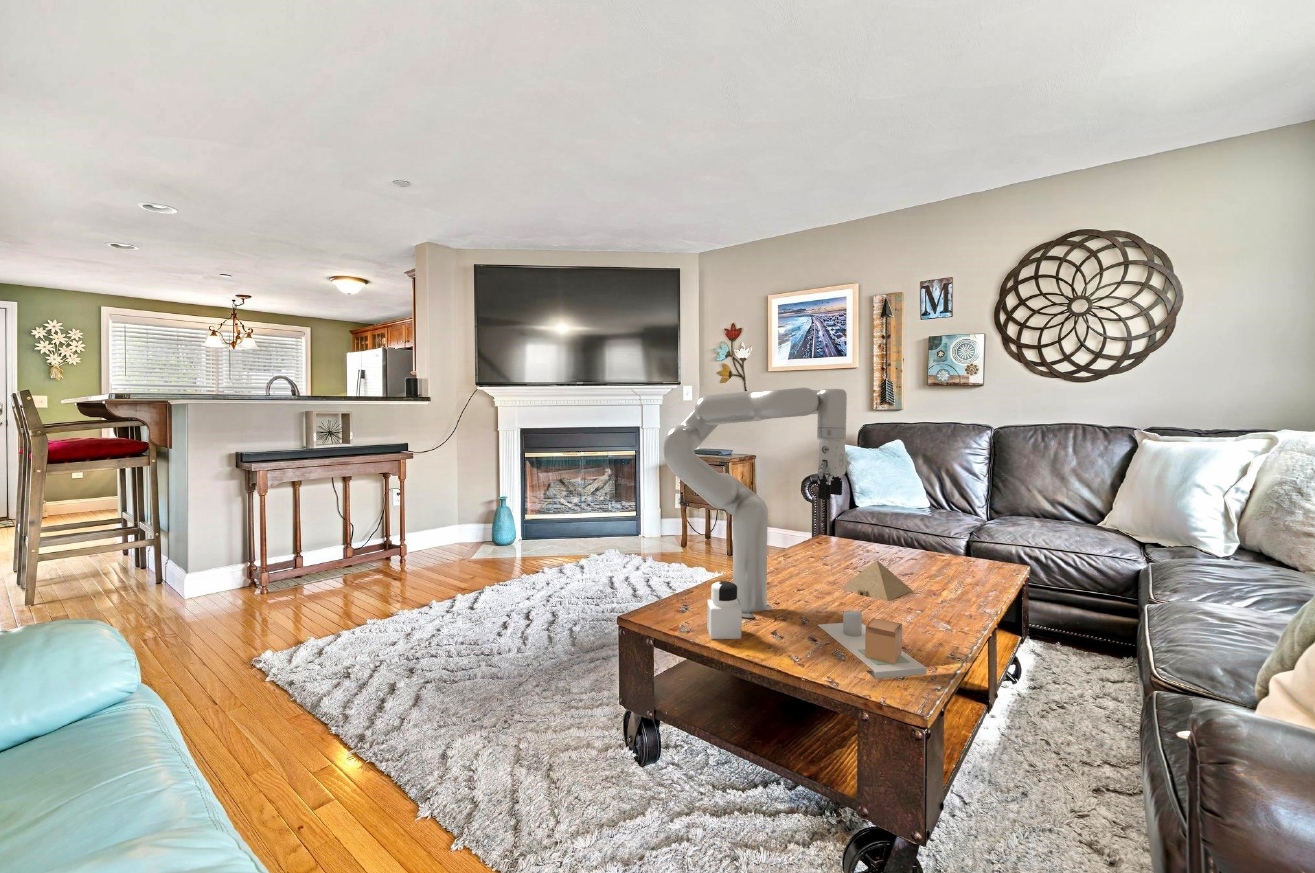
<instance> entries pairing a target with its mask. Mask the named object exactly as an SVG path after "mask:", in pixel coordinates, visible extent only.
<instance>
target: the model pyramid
mask: <svg viewBox="0 0 1315 873" xmlns="http://www.w3.org/2000/svg"><path fill="white" fill-rule="evenodd" d="M839 590H843V591H846V592H851V593H854V594H857V595H859V596H860V595H862V596H864V597H869V598H873V599H878V600H881V601H885V602H890V601H892V600H894V599H896V598H898V597H902V596H903V595H906V594H908V593H910V592H912V591H913V589H912V588H910V587H909V585H907V584H906V583H905V582H904V581H903V580H901V579H900V578H899V577H897V575H896V574H894V573H893V572H892V571H891V570H889V569H888V568H887V567H886V566H885V565H884V564H883V563H882V562H880V561H879V560H878V559H876V560H874V562H872V563H871V564H870V565H869V566H867V567H866V568H864V569H863V570H861V572H859V573H858V574H857V575H855V576H854V577H853V578H851V579H850V580H849V581H848V582H847V583H845V584H844V585H843V586H842V587H840V588H839Z"/></svg>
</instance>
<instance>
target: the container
mask: <svg viewBox="0 0 1315 873" xmlns="http://www.w3.org/2000/svg"><path fill="white" fill-rule="evenodd" d="M710 594H711V596H710V597H711V599H707V604H706V605H707V610H706V612H707V613H706V617H707V619H706V620H707V621H706V622H707V623H706V627H707V631H708V634H709V638H710V639H711V640H741V639H742V620H743V617H742V609H741V607H740V605H739V603H738V601H737V586H736V585H735V584H734V583H733V581H732V582H731V581H727V580H725V581H724V580H719V581H717V582H716V581H715V582H714V583H712V584H711V592H710Z"/></svg>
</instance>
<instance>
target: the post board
mask: <svg viewBox="0 0 1315 873" xmlns="http://www.w3.org/2000/svg"><path fill="white" fill-rule="evenodd" d="M842 616H843V617H842V618H843V619H842V620H843V621H842V622H839V623H837V622H836V623H823V624H821V623H820V624H817V626H818V628H819V627H820V628H821V629H822V630H823V631H824V632H826V633H827V634H828V635H829V636H831V637H832V638H833V639H834V640H835V641H837V643H839V644H840V645H842V647H844V648H845V649H846V650H848V651H849V652H850V653H851V654H852V655H854V656H855V658H858V659H859V660H860V661H861V662H863V663H864V664H865V665H866V666H867V667H868V668H870V669H871V670H866V672H867V674H869V675H870V676H871V677H872V678H874V679H875V680H877V679H878V680H879V679H891V678H890V677H892V678H902V677H904V678H905V677H911V676H910V675H916V676H926V675H927V669H928V668H927V667H926V666H925V665H924V664H922V663H920V662H919V661H917V660H916V659H914V658H913V657H912V656H910V655H909V654H907V653H906V652H904V651H903V650H902V654H901V656H900V657H899V659H898V660H897V662H896V663H895V664H893V663H888V662H884V661H880V660H876V659H871V658H867V657H865V632H866V625H865V623H863V614H862V612H860V611H857V610H851V609H850V610H844V611H843V614H842ZM925 674H926V675H925Z"/></svg>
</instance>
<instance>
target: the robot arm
mask: <svg viewBox="0 0 1315 873" xmlns="http://www.w3.org/2000/svg"><path fill="white" fill-rule="evenodd" d="M847 398H848V396H847V392H846V390H845V389H842V388H824V389H821V390H820V389H819V390H818V389H811V388H809V387H795V388H794V387H793V388H786V389H774V390H773V389H772V390H748V391H738V392H727V393H717V394H708V395H704V396H701V397H700V398H699V399H698V400H697V401H696V403H695V405H694V410H693V411H692V412H691V413H690V414H689V415H688V416H687V418H686V419H684V420H683V422H681V423H680V424H679V425H675V426H674V427H672V428H671V429H670V430H669V431H668V432H667V434H666V436H665V439H664V442H663V456H664V460H665V463H666V465H667V467H668V468H669V470H670V471H671V472H672V474H674V476H676V478H678V479H679V480H680V481H681V482H683V483H684V484H685V485H686V486H688V488H689V489H691V490H692V491H693V492H694V493H696V494H697V495H698V496H699V497H700V498H702V499H703V500H704V501H705V502H707V504H708V505H710V506H711V507H713V508H715V509H719V510H725V511H726V512H727V513H728V514H730V515H731V516H732V583H734V584H735V585H736V586H737V601H738V603H739V605H740V607H741V609H742V618H745V619H747V618H748V619H756V616H755V615H754V614H752V613H753V612H755V613H756V612H762V611H771V610H773V607H772V605H770V604H769V603H767V595H768V594H767V593H768V592H767V591H768V588H767V587H768V528H769V527H768V525H769V524H768V523H769V509H768V505H767V504H766V502H765V501H764V500H763V499H762V497H760V496H759V495H758V494H756V492H754V491H753V490H751V488H749V487H747V486H746V485H745V484H744V483H742V482H741V481H740V480H739V479H738V478H736V477H735V476H733V475H731V474H730V473H726V472H719V471H717V470H716V469H715V468H714V467H712V466H711V465H710V464H709V463H707V462H706V461H705V460H703V459H702V458H700V457H699V456H698V455H697V454H696V453H695V451H696V450H697V449H698V448H699V446H701V444H702V443H703V442H704V441H705V440H706V439H707V438H708V437H709V436H710V435H711V434H712V433H713V432H714V430H716V428H717V427H718V426H719V425H725V424H735V423H736V424H737V423H750V422H751V423H752V422H760V421H763V420H769V419H782V418H795V417H806V416H809V415H817V424H816V425H817V427H816V428H817V431H816V432H817V434H816V440H818V441H819V444H818V452H817V453H818V454H817V484H818V486H817V487H818V490H817V491H818V493H817V497H818V499H819V500H828V501H829V500H831V497H832V496H831V495H833V496H834V495H835V496H842V495H843V478H844V477H843V475H845V474H846V473H847V472H846V471H847V467H846V466H847V465H846V464H847V462H846V461H847V460H846V458H847V457H846V444H845V441H846V440H847V404H848V403H847V402H848V401H847V400H848V399H847ZM751 612H752V613H751Z"/></svg>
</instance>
